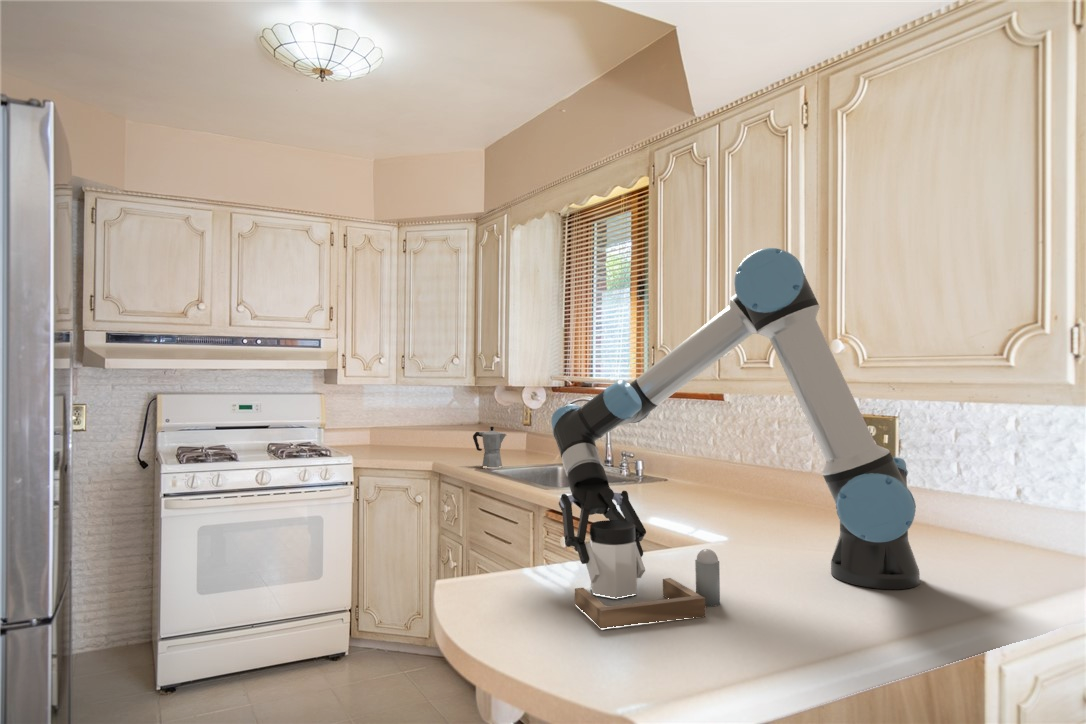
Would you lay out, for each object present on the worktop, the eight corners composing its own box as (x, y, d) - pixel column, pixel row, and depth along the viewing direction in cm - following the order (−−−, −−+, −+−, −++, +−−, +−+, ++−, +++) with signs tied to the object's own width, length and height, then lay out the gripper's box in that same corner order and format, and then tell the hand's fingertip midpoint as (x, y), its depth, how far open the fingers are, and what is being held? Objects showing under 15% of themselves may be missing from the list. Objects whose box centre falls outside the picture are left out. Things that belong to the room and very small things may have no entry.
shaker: (724, 602, 114) (723, 549, 114) (711, 608, 111) (710, 553, 112) (704, 597, 117) (703, 545, 117) (691, 602, 114) (690, 549, 114)
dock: (574, 606, 113) (574, 588, 113) (670, 595, 118) (670, 577, 118) (601, 630, 102) (601, 610, 102) (705, 616, 107) (705, 598, 107)
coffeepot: (510, 467, 294) (509, 425, 294) (503, 469, 285) (502, 427, 285) (477, 466, 298) (476, 425, 298) (469, 468, 289) (469, 427, 289)
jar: (588, 584, 125) (588, 519, 125) (632, 584, 125) (631, 519, 125) (592, 600, 116) (591, 530, 116) (639, 600, 116) (638, 530, 116)
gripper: (627, 481, 138) (665, 581, 123) (530, 486, 132) (557, 593, 116) (638, 458, 133) (679, 560, 118) (538, 462, 127) (567, 570, 111)
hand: (618, 576), depth 117 cm, fingers closed on jar, 8 cm apart
